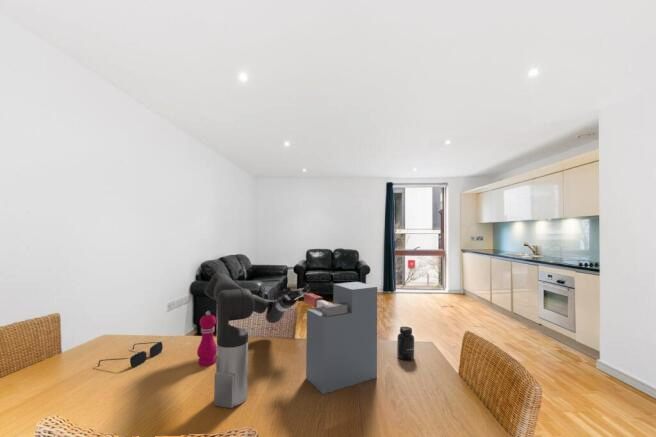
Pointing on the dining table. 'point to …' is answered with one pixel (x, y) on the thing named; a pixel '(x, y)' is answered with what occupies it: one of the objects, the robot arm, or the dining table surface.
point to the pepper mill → (207, 341)
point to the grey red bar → (325, 305)
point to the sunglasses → (142, 354)
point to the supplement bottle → (405, 344)
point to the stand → (343, 340)
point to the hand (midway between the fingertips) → (299, 287)
